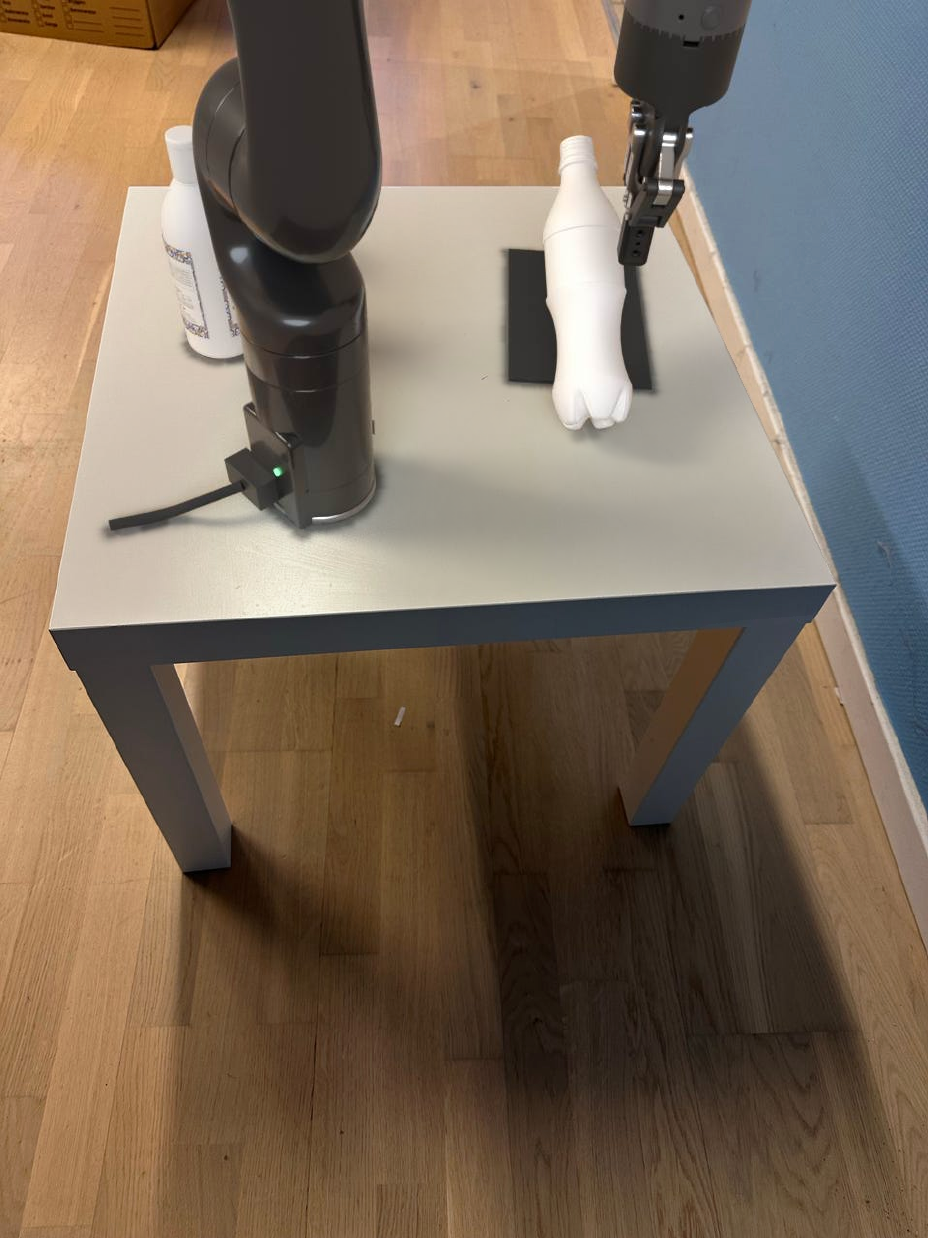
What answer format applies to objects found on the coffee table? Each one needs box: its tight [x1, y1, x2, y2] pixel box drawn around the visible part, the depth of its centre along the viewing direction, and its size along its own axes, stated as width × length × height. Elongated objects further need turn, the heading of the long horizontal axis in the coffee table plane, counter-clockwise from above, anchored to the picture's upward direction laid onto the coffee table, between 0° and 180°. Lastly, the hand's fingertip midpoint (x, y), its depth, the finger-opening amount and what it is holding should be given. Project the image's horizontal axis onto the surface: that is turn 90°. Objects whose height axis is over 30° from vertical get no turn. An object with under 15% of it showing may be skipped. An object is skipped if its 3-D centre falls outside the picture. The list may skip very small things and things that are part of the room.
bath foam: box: [160, 124, 244, 359], centre depth 81 cm, size 7×7×20 cm
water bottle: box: [542, 135, 633, 431], centre depth 80 cm, size 7×7×25 cm
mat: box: [508, 248, 653, 390], centre depth 94 cm, size 22×14×1 cm, turn 178°
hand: (630, 260), depth 69 cm, fingers closed
